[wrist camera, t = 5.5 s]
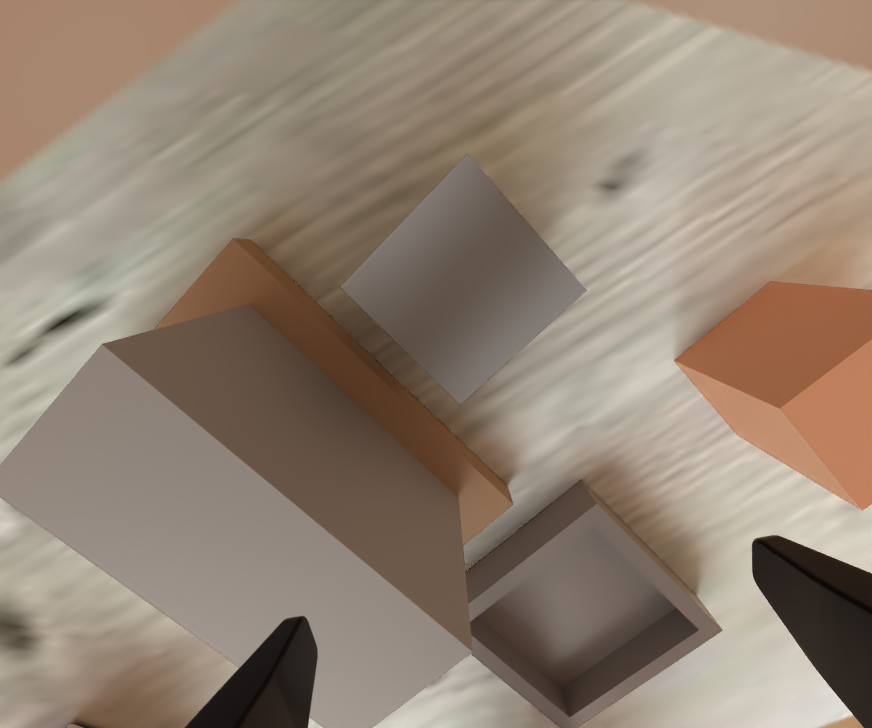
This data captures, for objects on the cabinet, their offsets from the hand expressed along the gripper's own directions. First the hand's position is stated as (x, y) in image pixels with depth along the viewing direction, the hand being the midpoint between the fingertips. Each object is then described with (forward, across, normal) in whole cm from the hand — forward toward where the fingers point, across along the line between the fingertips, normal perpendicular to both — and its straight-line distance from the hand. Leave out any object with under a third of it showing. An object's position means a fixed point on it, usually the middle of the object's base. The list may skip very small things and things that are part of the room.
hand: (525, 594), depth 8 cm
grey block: (+11, 0, -6) cm, 13 cm away
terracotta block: (+11, -12, +1) cm, 17 cm away
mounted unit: (+11, +7, 0) cm, 13 cm away
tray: (+11, -3, +12) cm, 16 cm away
